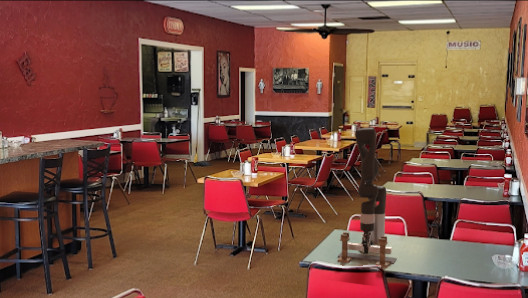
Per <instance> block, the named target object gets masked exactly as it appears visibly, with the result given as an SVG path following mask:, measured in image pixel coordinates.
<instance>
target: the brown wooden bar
mask: <svg viewBox="0 0 528 298" xmlns="http://www.w3.org/2000/svg"><path fill="white" fill-rule="evenodd" d="M365 245H366V244H365ZM368 246H369V247H368V253H375V254H380V245H375V244H374V245H368ZM348 250H349V251H358V252H364V247H363V244H361V243H356V242H355V243H353V242H348ZM392 251H393V247H392V246H386V252H385V255H392V254H393V253H392Z"/></svg>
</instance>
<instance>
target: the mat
mask: <svg viewBox="0 0 528 298" xmlns="http://www.w3.org/2000/svg"><path fill="white" fill-rule="evenodd" d="M340 256H342V251H341V252H340V253H339V254H338V255H337V258H339V257H340ZM347 257H351V258H352V259H351V260H358V261H359V260H360V261H367V262H375V263H377V261H380V255H374V254H364V253H359V252H358V253H357V252H349V251H347ZM396 261H397V257H391V256H385V262H389V264H393V265H394V264H395V263H396Z"/></svg>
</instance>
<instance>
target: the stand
mask: <svg viewBox="0 0 528 298" xmlns="http://www.w3.org/2000/svg"><path fill="white" fill-rule="evenodd" d="M350 240H351V238H350V232H347V231H346V232H345V231H343V233H342V234H340V239H339V241H340V242H341V252H342V256H340V257H337V263H347V264H349V263H350V262H351V261H352V260H353V259H352V258H351V257H347V252H349V251H348V243H349V241H350ZM387 244H389V242H388V236H386V235H384V236H381V238H379V243H377V246H380V253H379V256H380V261H377V262H375V265H381V266H382V267H381V268H385V269H386V268H387V269H388V267H389V265H390V263H389V262H385V257H386V254H385V252H386V247H387Z"/></svg>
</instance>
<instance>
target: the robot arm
mask: <svg viewBox="0 0 528 298" xmlns="http://www.w3.org/2000/svg"><path fill="white" fill-rule="evenodd" d="M376 131H377V130H376V129H375V128H374V127H364V128H357V129H355V132H354V133H355V134H354V136H355V142H356V146H357V148H358V149H357V150H358V152H359V156H360V162H361V164H360V181H359V182H360V183H359V185H358V189H357V194H358V196H359V197H360V198H366V199H368V200H367V201H366V200H365V201H363V202H361V204H360V218H359V220H360V221H359V224H360V227H359V230H360V231H362V232H363V233H362V238H361V243H363V247H364V251H363V254H366V255H369V252H368V247H369V246H368V245H370V243H371V237H372V240H373V242H374V244H375V243H376V244H378V243H379V238H381V236H386V235H385V232H386V231H385V229H386V228H385V227H386V225H385V224H386V203H387V202H386V201H387V189H386V186H382V185H376V184H374V180H375V179H376V177H377V175H378V174H379V173H380V165H379V161H378V158H377V157H376V151H377V150H376V148H377V147H376V146H377V132H376ZM366 145H367V146H368V145H369V148H367V147H366ZM376 202H378V204H377V205H376ZM365 244H366V245H365Z"/></svg>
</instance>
